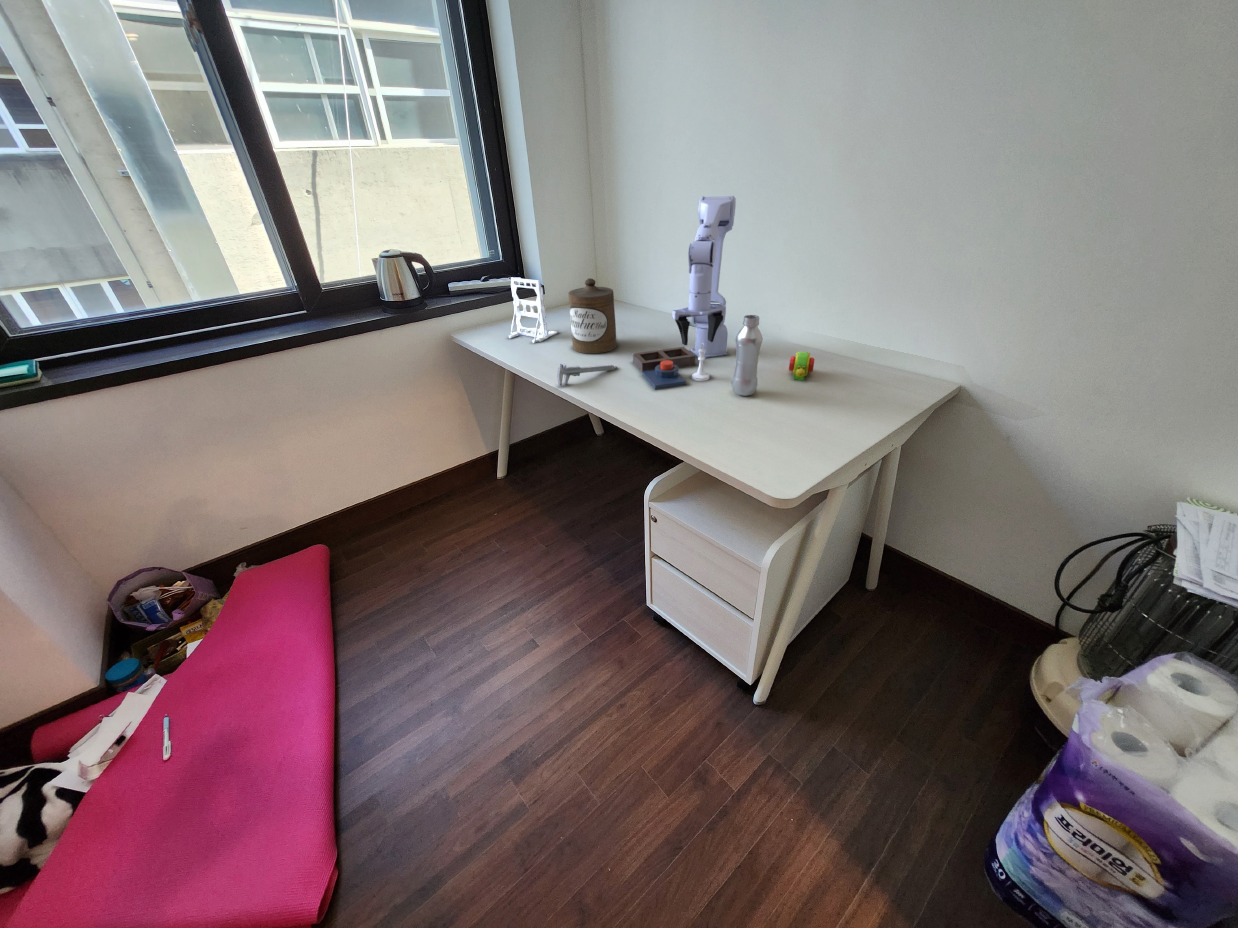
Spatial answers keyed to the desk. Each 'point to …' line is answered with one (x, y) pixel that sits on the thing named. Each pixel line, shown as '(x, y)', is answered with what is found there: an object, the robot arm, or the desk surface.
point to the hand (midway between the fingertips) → (697, 342)
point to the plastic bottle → (747, 356)
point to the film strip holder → (541, 315)
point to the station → (664, 377)
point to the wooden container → (592, 318)
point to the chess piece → (701, 367)
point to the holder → (663, 358)
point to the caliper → (579, 371)
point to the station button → (666, 365)
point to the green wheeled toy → (801, 365)
